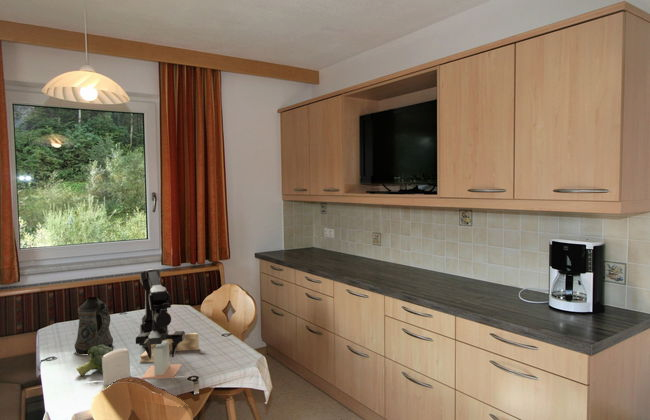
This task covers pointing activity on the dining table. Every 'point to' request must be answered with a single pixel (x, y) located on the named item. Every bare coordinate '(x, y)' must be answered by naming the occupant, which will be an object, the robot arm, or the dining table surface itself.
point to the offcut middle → (146, 360)
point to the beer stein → (93, 326)
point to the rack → (184, 343)
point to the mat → (169, 373)
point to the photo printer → (115, 365)
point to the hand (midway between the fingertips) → (161, 357)
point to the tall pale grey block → (161, 358)
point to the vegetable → (94, 359)
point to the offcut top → (145, 355)
